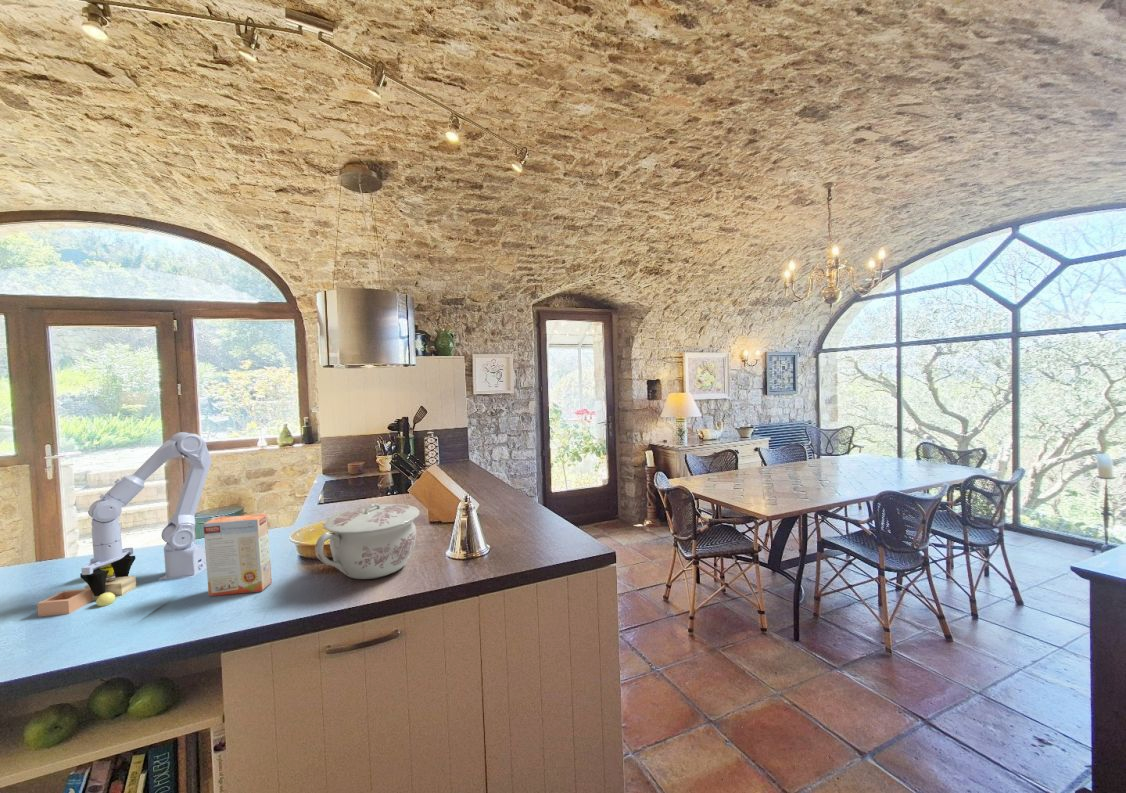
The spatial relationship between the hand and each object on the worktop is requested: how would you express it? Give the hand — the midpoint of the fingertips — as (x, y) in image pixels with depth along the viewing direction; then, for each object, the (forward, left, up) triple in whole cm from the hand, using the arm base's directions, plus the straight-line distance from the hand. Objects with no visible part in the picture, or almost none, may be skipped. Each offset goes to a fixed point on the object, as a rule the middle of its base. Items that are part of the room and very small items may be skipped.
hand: (111, 589), depth 129 cm
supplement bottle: (+11, -14, -2) cm, 18 cm away
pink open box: (+5, +7, -2) cm, 9 cm away
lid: (0, 0, -1) cm, 1 cm away
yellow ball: (-4, +7, -2) cm, 8 cm away
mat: (0, 0, -2) cm, 2 cm away
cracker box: (-36, +4, -2) cm, 36 cm away
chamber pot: (-71, -2, -2) cm, 71 cm away
